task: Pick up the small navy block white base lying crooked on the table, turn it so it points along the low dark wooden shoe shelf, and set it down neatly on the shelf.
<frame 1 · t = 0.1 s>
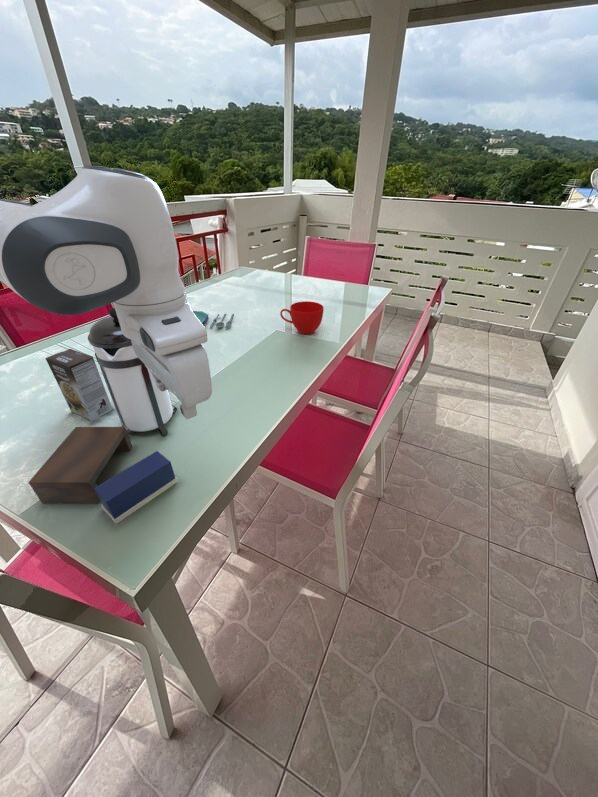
hand: (176, 401, 52), 23 cm above the table, tool pointing down, fingers open, 8 cm apart
coffee press: (150, 420, 85), on the table
cutlery set: (196, 324, 139), on the table
ceramic cup: (301, 331, 133), on the table
shelf: (91, 472, 70), on the table
coffee box: (92, 411, 88), on the table
navy block white base: (142, 495, 65), on the table
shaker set: (175, 367, 108), on the table
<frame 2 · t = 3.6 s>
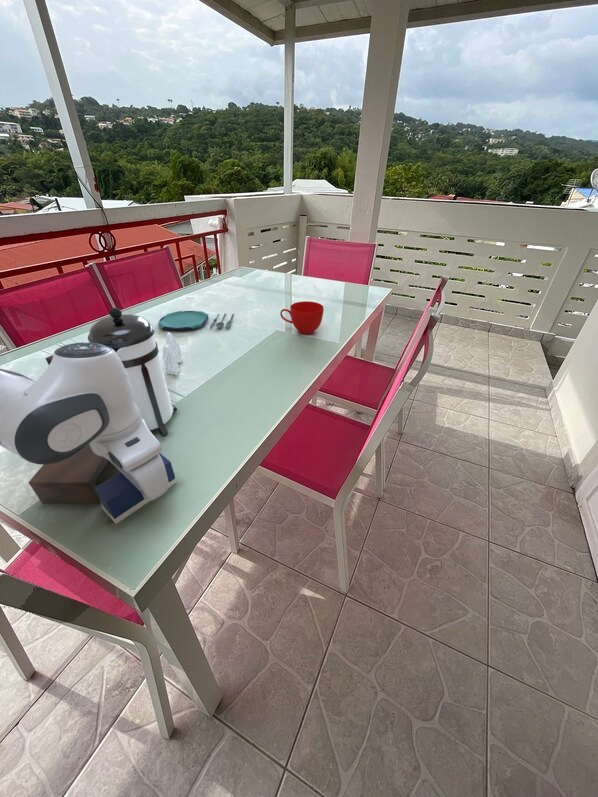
hand: (138, 486, 64), 3 cm above the table, tool pointing down, fingers closed on navy block white base, 5 cm apart
navy block white base: (142, 495, 66), on the table, touching gripper
everything else where it was.
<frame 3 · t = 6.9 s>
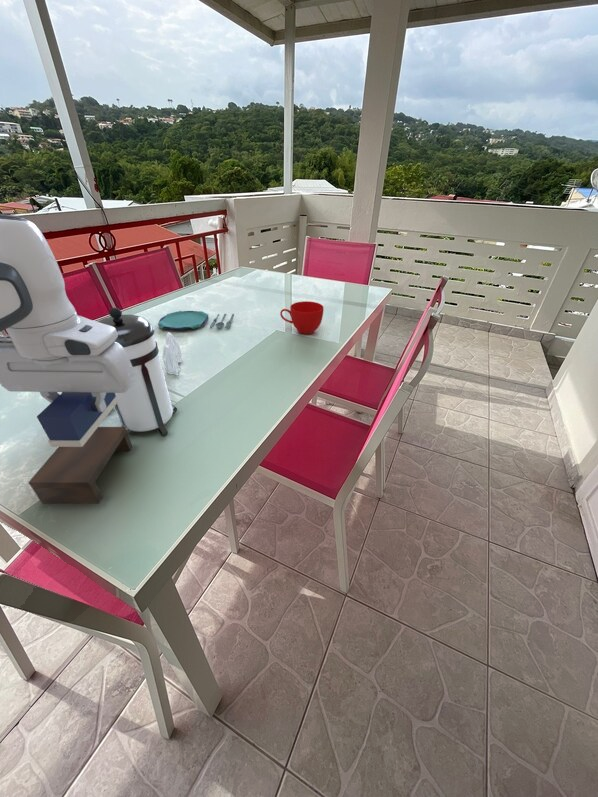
hand: (82, 409, 57), 19 cm above the table, tool pointing down, fingers closed on navy block white base, 5 cm apart
navy block white base: (88, 421, 58), point 16 cm above the table, touching gripper
everything else where it was.
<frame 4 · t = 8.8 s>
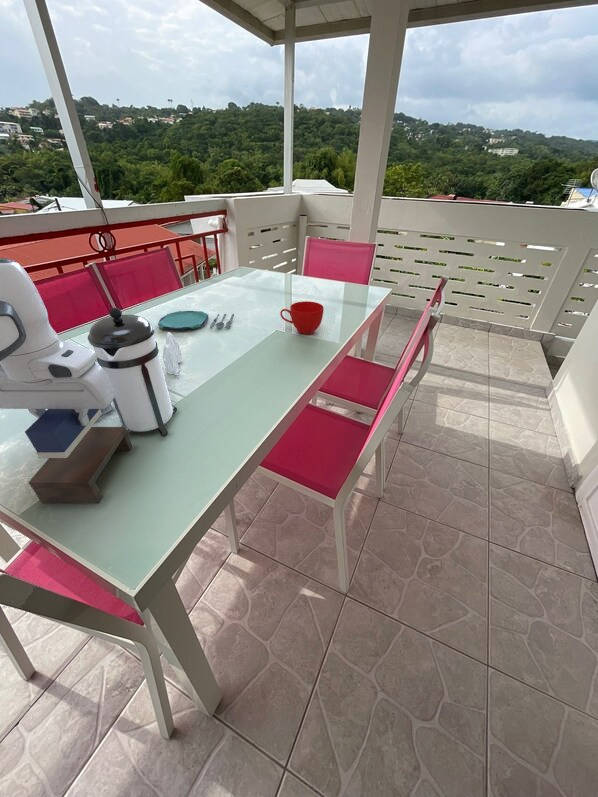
hand: (67, 423, 63), 13 cm above the table, tool pointing down, fingers closed on navy block white base, 5 cm apart
navy block white base: (73, 434, 64), point 11 cm above the table, touching gripper
everything else where it was.
when the fingers open (9 cm above the table, at t = 10.4 s): navy block white base stays where it is, resting on shelf.
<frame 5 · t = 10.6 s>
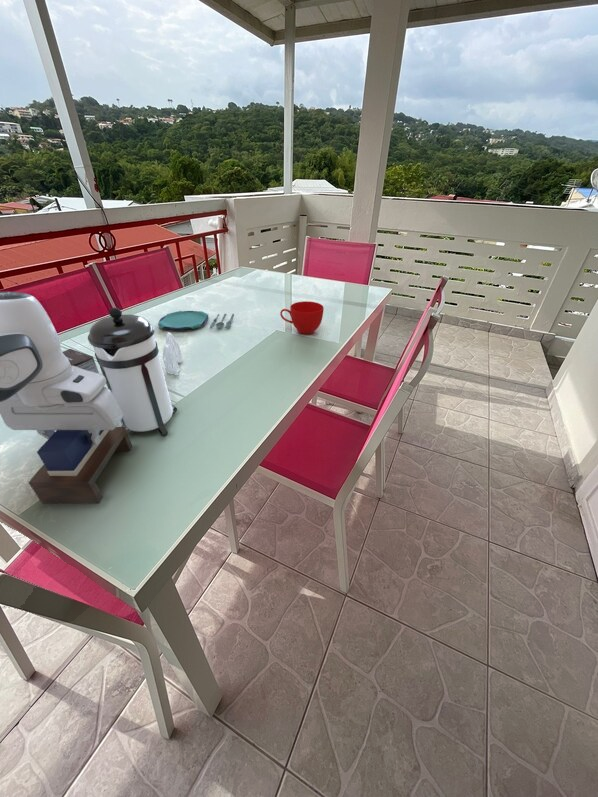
hand: (77, 443, 66), 8 cm above the table, tool pointing down, fingers open, 6 cm apart
navy block white base: (81, 451, 67), point 6 cm above the table, touching shelf
everything else where it was.
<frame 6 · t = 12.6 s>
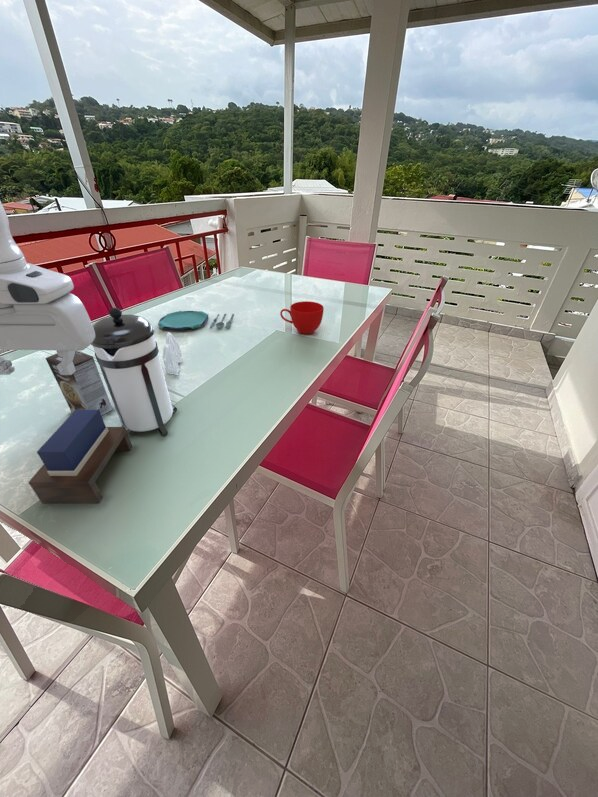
hand: (37, 373, 52), 27 cm above the table, tool pointing down, fingers open, 8 cm apart
nothing on the table moved.
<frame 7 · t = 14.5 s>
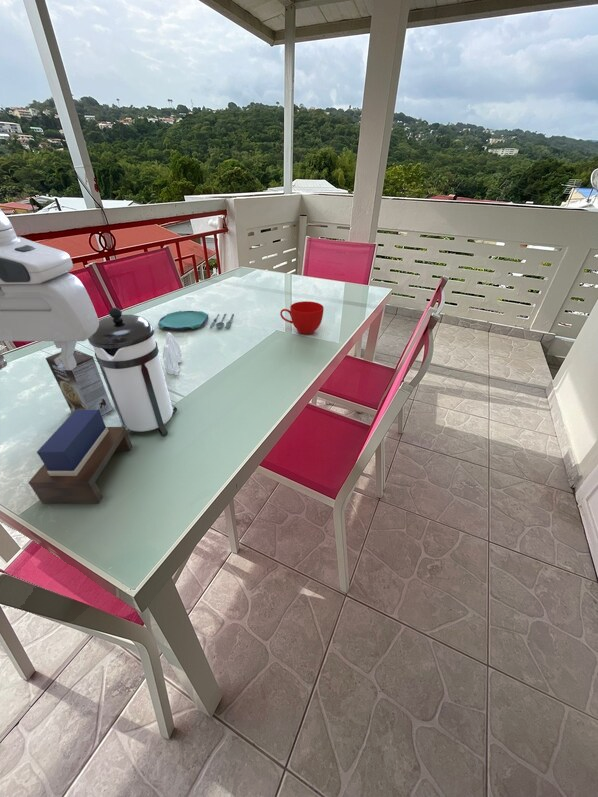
hand: (33, 368, 44), 31 cm above the table, tool pointing down, fingers open, 8 cm apart
nothing on the table moved.
at the end: navy block white base inside the target area on the shelf (0.0 cm from its centre), point 6.0 cm above the shelf's base; navy block white base tilted 0°; the gripper is holding nothing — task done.
